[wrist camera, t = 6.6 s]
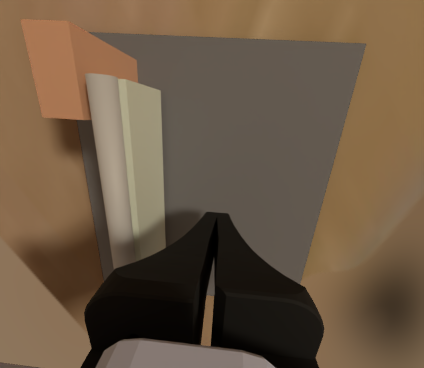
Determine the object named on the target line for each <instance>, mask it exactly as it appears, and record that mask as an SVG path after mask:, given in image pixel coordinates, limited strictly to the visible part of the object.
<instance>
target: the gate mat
mask: <svg viewBox="0 0 424 368" xmlns="http://www.w3.org/2000/svg"><path fill="white" fill-rule="evenodd" d="M88 33H90V34H92V35H93V36H95V37H97V38H99V39H100V40H102V41H104V42H106V43H108V44H109V45H111V46H113V47H115V48H116V49H118V50H120V51H122V52H123V53H125V54H127V55H129V56H130V57H132V58H134V59H136V60H137V74H138V83H139V84H142V85H145V86H148V87H151V88H155V89H158V90H161V116H162V147H163V177H164V208H165V239H166V247H168V246H170V245H171V244H173V243H174V242H176V241H177V240H179V239H180V238H181V237H182V236H184V235H185V234H186V233H187V232H188V231H189V230H190V229H192V228H193V227H194V225H195V224H196V223H197V222H198V221H199V220H200V219H201V218H202V217H203V215H204V214H205V213H206V212H217V213H228V214H229V215H230V218H231V220H232V222H233V224H234V226H235V227H236V229H237V230H238V232H239V234H240V235H241V236H242V238H243V239H244V240H245V242H246V243H247V244H248V245H249V247H250V248H251V249H252V250H253V251H254V252H255V253H256V254H257V255H258V256H260V257H261V258H262V259H263V260H264V261H265V262H267V263H268V264H269V265H270V266H272V267H273V268H275V269H276V270H277V271H279V272H280V273H282V274H283V275H285V276H286V277H288V278H290V279H291V280H293V281H295V282H297V283H298V284H300V282H301V279H302V275H303V271H304V268H305V264H306V261H307V257H308V253H309V250H310V246H311V242H312V239H313V235H314V232H315V228H316V224H317V221H318V217H319V213H320V210H321V206H322V203H323V199H324V195H325V192H326V188H327V184H328V181H329V177H330V174H331V170H332V166H333V163H334V159H335V155H336V152H337V148H338V145H339V141H340V137H341V134H342V130H343V126H344V123H345V119H346V116H347V112H348V108H349V105H350V101H351V98H352V94H353V90H354V87H355V83H356V79H357V76H358V72H359V69H360V65H361V61H362V58H363V54H364V50H365V47H366V44H361V43H337V42H313V41H289V40H265V39H240V38H216V37H192V36H168V35H144V34H119V33H95V32H88ZM77 125H78V131H79V136H80V142H81V148H82V154H83V160H84V166H85V172H86V178H87V184H88V190H89V196H90V201H91V207H92V213H93V219H94V225H95V231H96V237H97V243H98V249H99V255H100V261H101V267H102V272H103V278H104V281H105V280H106V278H107V277H108V276H109V275H110V274H111V273H112V272H113V270H114V267H113V260H112V253H111V247H110V240H109V233H108V226H107V220H106V213H105V206H104V200H103V193H102V186H101V179H100V173H99V166H98V159H97V152H96V146H95V139H94V132H93V125H92V120H77ZM214 294H215V285H214V260H213V265H212V270H211V275H210V280H209V285H208V290H207V295H211V296H214Z"/></svg>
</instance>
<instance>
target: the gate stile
mask: <svg viewBox="0 0 424 368" xmlns="http://www.w3.org/2000/svg"><path fill="white" fill-rule="evenodd" d="M21 23H22V28H23V32H24V36H25V41H26V45H27V50H28V54H29V59H30V63H31V68H32V72H33V77H34V81H35V85H36V90H37V94H38V99H39V103H40V108H41V112H42V117H45V118H60V119H75V120H92V119H91V112H90V105H89V98H88V92H87V85H86V78H85V74H86V73H93V74H104V75H110V76H115V77H117V78H118V79H127V80H130V81H133V82H136V83H138V74H137V60H136V59H134V58H132V57H130V56H129V55H127V54H125V53H123V52H122V51H120V50H118V49H116V48H115V47H113V46H111V45H109V44H108V43H106V42H104V41H102V40H100V39H99V38H97V37H95V36H93V35H92V34H90V33H88V32H86V31H85V30H83V29H81V28H79V27H78V26H76V25H74V24H72V23H71V22H69V21H53V20H26V19H21Z"/></svg>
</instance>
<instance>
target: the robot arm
mask: <svg viewBox="0 0 424 368" xmlns="http://www.w3.org/2000/svg"><path fill="white" fill-rule="evenodd" d="M213 260H214V285H215V294H214V308H213V323H212V337H211V346H203V345H201V337H202V328H203V319H204V310H205V301H206V295H207V290H208V285H209V280H210V275H211V270H212V265H213ZM84 315H85V323H86V327H87V331H88V335H89V338H90V343H91V347H92V349H91V351H90V352H89V354H88V356H87V357H86V359H85V361H84V362H83V364H82V366H81V368H319V367H318V364H317V361H316V358H315V357H316V354H317V352H318V349H319V346H320V343H321V341H322V338H323V333H324V325H323V321H322V319H321V316H320V314H319V312H318V310H317V308H316V306H315V304H314V302H313V300H312V298H311V297H310V295H309V293H308V292H307V290H306V288H305V287H303V286H302V285H300V284H298V283H297V282H295V281H293V280H291V279H290V278H288V277H286V276H285V275H283V274H282V273H280V272H279V271H277V270H276V269H275V268H273V267H272V266H270V265H269V264H268V263H267V262H265V261H264V260H263V259H262V258H261V257H260V256H258V255H257V254H256V253H255V252H254V251H253V250H252V249H251V248H250V247H249V245H248V244H247V243H246V242H245V240H244V239H243V238H242V236H241V235H240V234H239V232H238V230H237V229H236V227H235V226H234V224H233V222H232V220H231V218H230V215H229V214H228V213H217V212H206V213H205V214H204V215H203V217H202V218H201V219H200V220H199V221H198V222H197V223H196V224H195V225H194V227H193V228H192V229H190V230H189V231H188V232H187V233H186V234H185V235H184V236H182V237H181V238H180V239H179V240H177V241H176V242H174V243H173V244H171V245H170V246H168V247H166V248H164V249H163V250H161V251H159V252H157V253H155V254H153V255H151V256H149V257H146V258H144V259H141V260H139V261H136V262H133V263H130V264H127V265H125V266H122V267H118V268H115V269H114V270H113V272H112V273H111V274H110V275H109V276H108V277H107V278H106V280H105V281H104V282H103V284H102V285H101V286H100V288H99V289H98V291H97V292H96V293H95V295H94V296H93V297H92V299H91V300H90V302H89V303H88V304H87V306H86V309H85V312H84ZM0 368H38V367H30V366H23V365H15V364H7V363H0Z"/></svg>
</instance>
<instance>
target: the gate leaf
mask: <svg viewBox="0 0 424 368" xmlns="http://www.w3.org/2000/svg"><path fill="white" fill-rule="evenodd" d="M85 78H86V85H87V92H88V98H89V105H90V112H91V119H92V125H93V132H94V139H95V146H96V152H97V159H98V166H99V173H100V179H101V186H102V193H103V200H104V206H105V213H106V220H107V226H108V233H109V240H110V247H111V253H112V260H113V267H114V269H115V268H118V267H122V266H125V265H127V264H130V263H133V262H136V261H139V260H141V259H144V258H146V257H149V256H151V255H153V254H155V253H157V252H159V251H161V250H163V249H164V248H166V239H165V208H164V177H163V147H162V116H161V90H158V89H155V88H151V87H148V86H145V85H142V84H139V83H136V82H133V81H130V80H127V79H118V78H117V77H115V76H110V75H104V74H93V73H86V74H85Z"/></svg>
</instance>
